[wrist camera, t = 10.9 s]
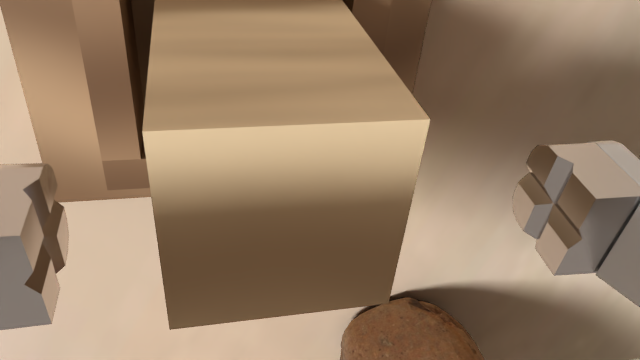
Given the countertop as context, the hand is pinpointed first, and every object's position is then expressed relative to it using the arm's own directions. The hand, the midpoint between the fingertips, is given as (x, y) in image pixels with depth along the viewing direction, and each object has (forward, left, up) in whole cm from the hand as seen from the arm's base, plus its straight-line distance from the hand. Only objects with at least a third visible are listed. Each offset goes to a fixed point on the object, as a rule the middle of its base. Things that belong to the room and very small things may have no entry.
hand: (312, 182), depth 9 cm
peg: (0, -1, -8) cm, 8 cm away
